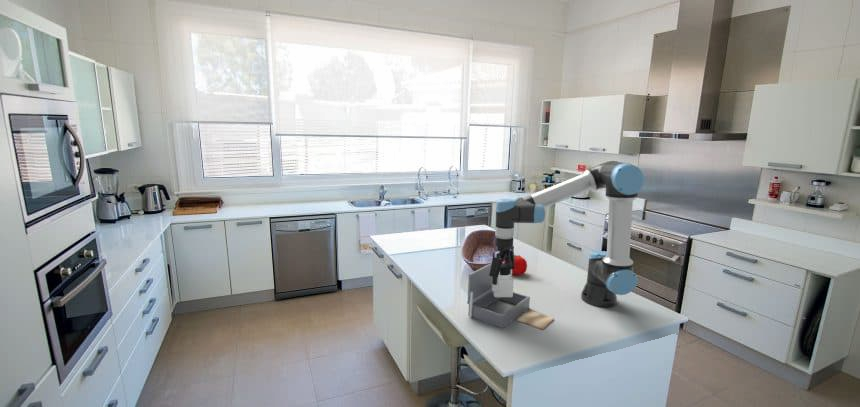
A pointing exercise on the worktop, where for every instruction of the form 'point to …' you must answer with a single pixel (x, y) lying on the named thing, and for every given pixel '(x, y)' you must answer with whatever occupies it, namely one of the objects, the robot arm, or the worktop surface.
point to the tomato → (519, 265)
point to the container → (504, 282)
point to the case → (491, 299)
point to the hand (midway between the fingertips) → (501, 287)
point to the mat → (535, 319)
